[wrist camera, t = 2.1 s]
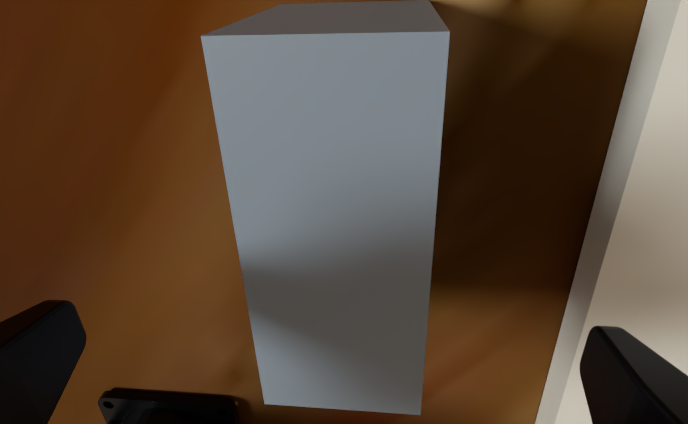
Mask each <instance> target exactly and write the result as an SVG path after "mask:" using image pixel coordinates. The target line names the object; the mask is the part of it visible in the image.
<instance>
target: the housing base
mask: <svg viewBox="0 0 688 424" xmlns="http://www.w3.org/2000/svg"><path fill="white" fill-rule="evenodd" d="M594 326H615V327H620V328H623V329H624V330H626V331H627V332H629V333H630V334H631V335H633V336H634V337H635V338H637V339H638V340H640V341H641V342H642V343H644V344H645V345H646V346H648V347H649V348H650V349H652V350H653V351H655V352H656V353H657V354H659V355H660V356H661V357H663V358H664V359H666V360H667V361H668V362H670V363H671V364H672V365H674V366H675V367H677V368H678V369H679V370H681V371H682V372H683V373H685V374H686V375H687V376H688V0H648V1H647V5H646V9H645V12H644V16H643V20H642V24H641V28H640V31H639V35H638V39H637V43H636V46H635V50H634V54H633V58H632V61H631V65H630V69H629V73H628V76H627V80H626V84H625V88H624V91H623V95H622V99H621V103H620V106H619V110H618V114H617V118H616V121H615V125H614V129H613V133H612V136H611V140H610V144H609V148H608V151H607V155H606V159H605V163H604V167H603V170H602V174H601V178H600V182H599V185H598V189H597V193H596V197H595V200H594V204H593V208H592V212H591V215H590V219H589V223H588V227H587V230H586V234H585V238H584V242H583V245H582V249H581V253H580V257H579V260H578V264H577V268H576V272H575V275H574V279H573V283H572V287H571V290H570V294H569V298H568V302H567V306H566V309H565V313H564V317H563V321H562V324H561V328H560V332H559V336H558V339H557V343H556V347H555V351H554V354H553V358H552V362H551V366H550V369H549V373H548V377H547V381H546V384H545V388H544V392H543V396H542V399H541V403H540V407H539V411H538V414H537V418H536V422H535V424H593V423H592V420H591V416H590V412H589V408H588V404H587V400H586V396H585V392H584V389H583V385H582V381H581V377H580V360H581V357H582V354H583V350H584V347H585V344H586V340H587V337H588V334H589V332H590V330H591V328H592V327H594Z"/></svg>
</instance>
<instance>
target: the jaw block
mask: <svg viewBox="0 0 688 424" xmlns="http://www.w3.org/2000/svg"><path fill="white" fill-rule="evenodd" d="M449 39H450V31H449V29H448V28H447V26H446V25H445V23H444V22H443V20H442V19H441V17H440V16H439V15H438V13H437V12H436V10H435V9H434V7H433V6H432V4H431V3H430V1H429V0H416V1H376V2H337V3H297V4H280V5H278V6H275V7H273V8H270V9H268V10H265V11H263V12H260V13H258V14H255V15H253V16H250V17H247V18H245V19H242V20H240V21H237V22H235V23H232V24H230V25H227V26H225V27H222V28H220V29H217V30H215V31H212V32H210V33H207V34H204V35H202V36H201V40H202V45H203V51H204V57H205V63H206V68H207V74H208V80H209V86H210V92H211V97H212V103H213V109H214V115H215V120H216V126H217V132H218V138H219V144H220V149H221V155H222V161H223V167H224V172H225V178H226V184H227V190H228V196H229V201H230V207H231V213H232V219H233V224H234V230H235V236H236V242H237V248H238V253H239V259H240V265H241V271H242V276H243V282H244V288H245V294H246V300H247V305H248V311H249V317H250V323H251V328H252V334H253V340H254V346H255V352H256V357H257V363H258V369H259V375H260V381H261V386H262V392H263V398H264V404H272V405H285V406H299V407H313V408H327V409H341V410H355V411H369V412H383V413H397V414H411V415H421V402H422V389H423V376H424V363H425V350H426V337H427V324H428V311H429V298H430V285H431V272H432V259H433V246H434V233H435V220H436V208H437V195H438V182H439V169H440V156H441V143H442V130H443V117H444V104H445V91H446V78H447V65H448V52H449Z"/></svg>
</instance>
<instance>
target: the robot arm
mask: <svg viewBox="0 0 688 424" xmlns="http://www.w3.org/2000/svg"><path fill="white" fill-rule="evenodd" d="M85 344H86V333H85V330H84V328H83V325H82V323H81V320H80V318H79V315H78V313H77V310H76V308H75V306H74V305H73V304H72V303H71V302H69V301H66V300H46V301H43V302H41V303H39V304H37V305H35V306H33V307H31V308H29V309H27V310H25V311H23V312H21V313H19V314H17V315H15V316H12V317H10V318H8V319H6V320H4V321H2V322H0V424H47V423H48V421H49V419H50V417H51V415H52V414H53V412H54V409H55V407H56V405H57V403H58V401H59V399H60V397H61V395H62V393H63V391H64V389H65V387H66V385H67V383H68V381H69V379H70V377H71V374H72V372H73V370H74V368H75V366H76V364H77V362H78V360H79V358H80V356H81V354H82V352H83V350H84V347H85ZM580 377H581V381H582V385H583V389H584V392H585V396H586V400H587V404H588V408H589V412H590V416H591V420H592V423H593V424H688V376H687V375H686V374H685V373H683V372H682V371H681V370H679V369H678V368H677V367H675V366H674V365H672V364H671V363H670V362H668V361H667V360H666V359H664V358H663V357H661V356H660V355H659V354H657V353H656V352H655V351H653V350H652V349H650V348H649V347H648V346H646V345H645V344H644V343H642V342H641V341H640V340H638V339H637V338H635V337H634V336H633V335H631V334H630V333H629V332H627V331H626V330H624V329H623V328H620V327H615V326H594V327H592V328H591V330H590V332H589V334H588V337H587V340H586V344H585V347H584V350H583V354H582V357H581V360H580ZM98 405H99V407H100V409H101V412H102V414H103V416H104V419H105V421H106V423H107V424H240V423H239V418H238V413H237V409H236V406H235V404H234V403H233V402H232V401H230V400H228V399H223V398H209V397H194V396H180V395H166V394H151V393H137V392H123V391H105V392H104V393H103V394H102V396H101V397H100V399H99V400H98Z"/></svg>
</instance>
